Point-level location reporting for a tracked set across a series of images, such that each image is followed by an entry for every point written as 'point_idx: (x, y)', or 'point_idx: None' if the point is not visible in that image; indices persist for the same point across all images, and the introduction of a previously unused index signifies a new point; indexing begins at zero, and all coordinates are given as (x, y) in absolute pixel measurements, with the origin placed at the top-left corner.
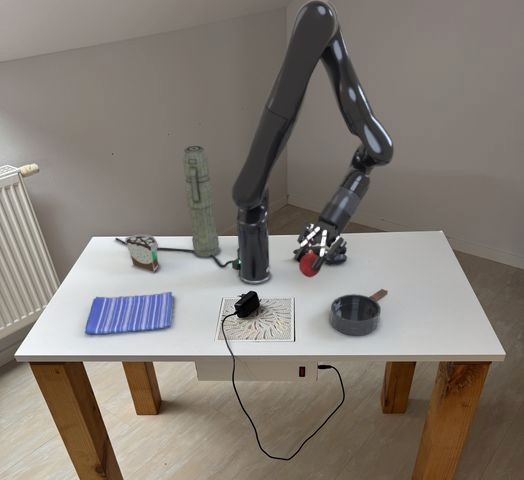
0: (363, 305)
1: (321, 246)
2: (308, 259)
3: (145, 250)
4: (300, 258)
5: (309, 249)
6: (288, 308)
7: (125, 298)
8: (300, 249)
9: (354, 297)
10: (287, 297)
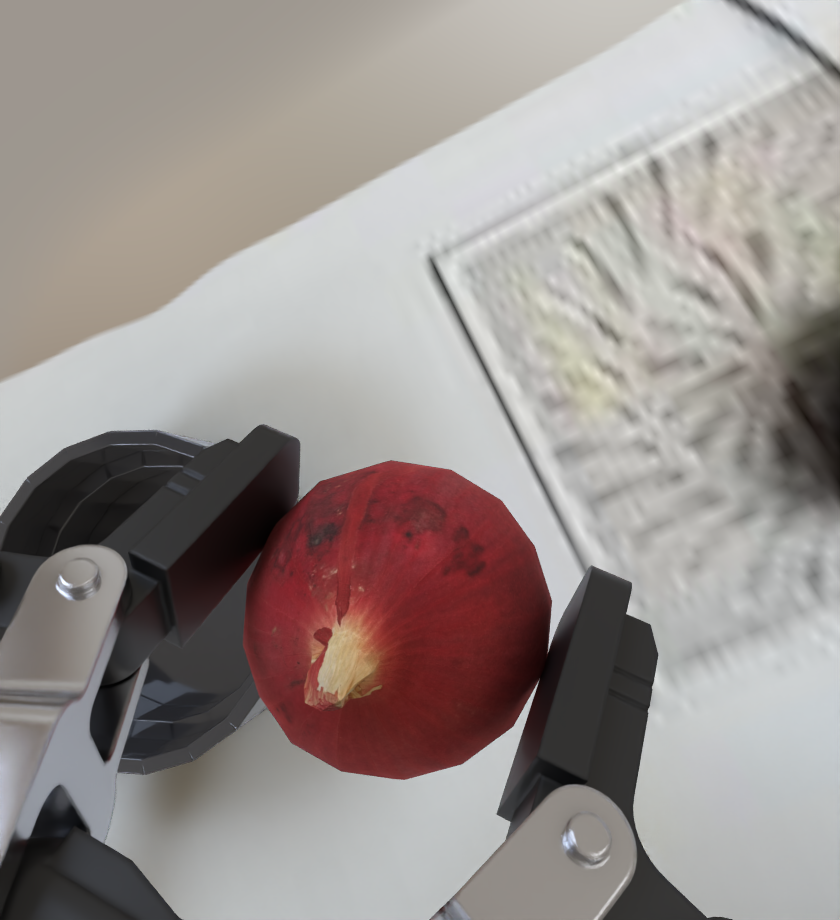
0: (143, 718)
1: (38, 703)
2: (350, 523)
3: None
4: (557, 647)
5: None
6: (624, 555)
7: None
8: (585, 726)
9: (184, 743)
10: (700, 685)
